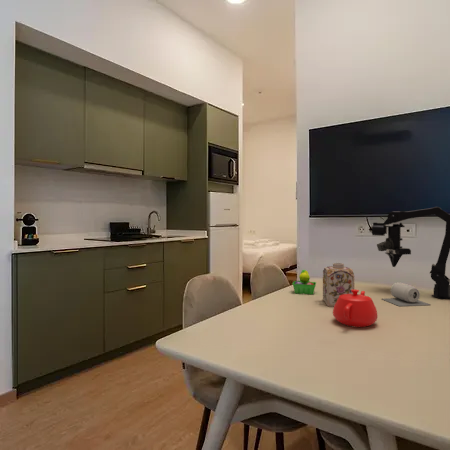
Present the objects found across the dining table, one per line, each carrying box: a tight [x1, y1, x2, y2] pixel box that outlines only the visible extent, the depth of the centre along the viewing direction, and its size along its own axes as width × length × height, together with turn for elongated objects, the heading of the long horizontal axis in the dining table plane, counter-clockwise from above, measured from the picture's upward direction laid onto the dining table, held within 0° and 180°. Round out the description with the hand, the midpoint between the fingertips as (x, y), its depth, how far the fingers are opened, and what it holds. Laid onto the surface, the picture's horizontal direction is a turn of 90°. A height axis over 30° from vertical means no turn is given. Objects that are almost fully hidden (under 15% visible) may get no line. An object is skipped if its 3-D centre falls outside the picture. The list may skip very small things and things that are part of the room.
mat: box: [381, 297, 432, 307], centre depth 160 cm, size 15×13×1 cm
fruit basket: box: [292, 269, 317, 295], centre depth 180 cm, size 11×9×11 cm
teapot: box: [332, 288, 378, 328], centre depth 131 cm, size 25×16×12 cm, turn 145°
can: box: [390, 281, 421, 303], centre depth 162 cm, size 8×8×12 cm
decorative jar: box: [322, 262, 355, 307], centre depth 158 cm, size 12×12×18 cm
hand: (393, 266), depth 180 cm, fingers closed
